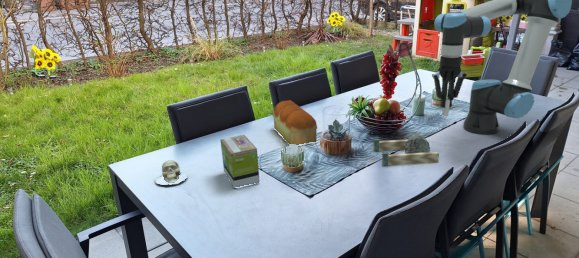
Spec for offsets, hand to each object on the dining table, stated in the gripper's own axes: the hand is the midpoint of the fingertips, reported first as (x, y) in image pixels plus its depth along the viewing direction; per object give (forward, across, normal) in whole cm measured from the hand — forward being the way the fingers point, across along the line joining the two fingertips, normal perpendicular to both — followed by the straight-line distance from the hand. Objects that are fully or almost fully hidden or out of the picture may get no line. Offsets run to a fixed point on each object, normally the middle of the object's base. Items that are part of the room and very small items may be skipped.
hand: (445, 115), depth 167 cm
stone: (+17, +10, 0) cm, 20 cm away
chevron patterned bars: (+17, +15, 0) cm, 23 cm away
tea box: (+18, +81, +11) cm, 84 cm away
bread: (+18, +58, -29) cm, 67 cm away
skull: (+18, +108, +8) cm, 110 cm away
